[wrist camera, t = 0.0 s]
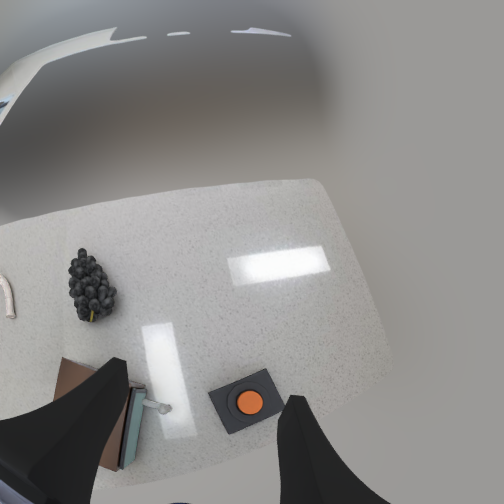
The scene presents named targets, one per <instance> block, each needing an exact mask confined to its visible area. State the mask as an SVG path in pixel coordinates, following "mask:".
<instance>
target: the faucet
mask: <svg viewBox="0 0 504 504" xmlns="http://www.w3.org/2000/svg"><path fill="white" fill-rule="evenodd" d="M0 284H1V285H2V287H3V289H4V292H5V299H6V311H7V315H6V317H7V318H10V319H12V318H15V317H16V316H15V314H14V307H13V298H12V292H11V289H10V286H9V284H8V282H7V280H6V278H5V277H4V276H3V275H2V274H0Z"/></svg>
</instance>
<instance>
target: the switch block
mask: <svg viewBox="0 0 504 504" xmlns="http://www.w3.org/2000/svg"><path fill="white" fill-rule="evenodd" d="M246 391H254V392H256V393H258V394H259V395H260V396H261V398H262V400H263V405H262V408H261V409H260V410H259V411H258V412H257V413H255V414H246V413H244V412H242V411H241V410H240V409H239V407H238V405H237V400H238V397H239V396H240V394H242V393H243V392H246ZM209 395H210V398H211V400H212V402H213V404H214V406H215V408H216V410H217V412H218V414H219V416H220V418H221V420H222V422H223V424H224V426H225V428H226V430H227V432H228V434H232V433H234V432H237V431H239V430H241V429H244V428H246V427H248V426H251V425H253V424H255V423H257V422H260V421H262V420H264V419H266V418H268V417H270V416H273V415H275V414H277V413H279V412H281V411H283V409H284V407H285V405H284V403H283V401H282V399H281V397H280V395H279V393H278V391H277V389H276V387H275V385H274V383H273V381H272V379H271V377H270V375H269V373H268V371H267V369H263V370H261V371H259V372H257V373H255V374H252V375H250V376H248V377H246V378H243V379H241V380H239V381H236V382H234V383H231V384H229V385H227V386H224V387H222V388H219V389H217V390H214V391H211V392H209Z"/></svg>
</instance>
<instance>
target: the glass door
mask: <svg viewBox="0 0 504 504" xmlns="http://www.w3.org/2000/svg"><path fill="white" fill-rule="evenodd" d="M146 392H147V390H146V389H135V388H133V389H132V394H131V399H130V404H129V410H128V415H127V421H126V427H125V433H124V439H123V445H122V452H121V460H120V468H119V469H121V470H123V469H124V468H125V467H126V466H127V465H129V464H130V463H131V462H132V461H134V460H135V453H136V446H137V440H138V434H139V428H140V422H141V417H142V411H143V406H144V405H145V406H148V407H152V408H155V409H158V411H159V413H160V414H162V415H164V414H166V413H168V412H170V411H171V410H172V408H171V406H170V405H165V404H162V403H158V402H154V401H151V400H147V399H145V396H146Z"/></svg>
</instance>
